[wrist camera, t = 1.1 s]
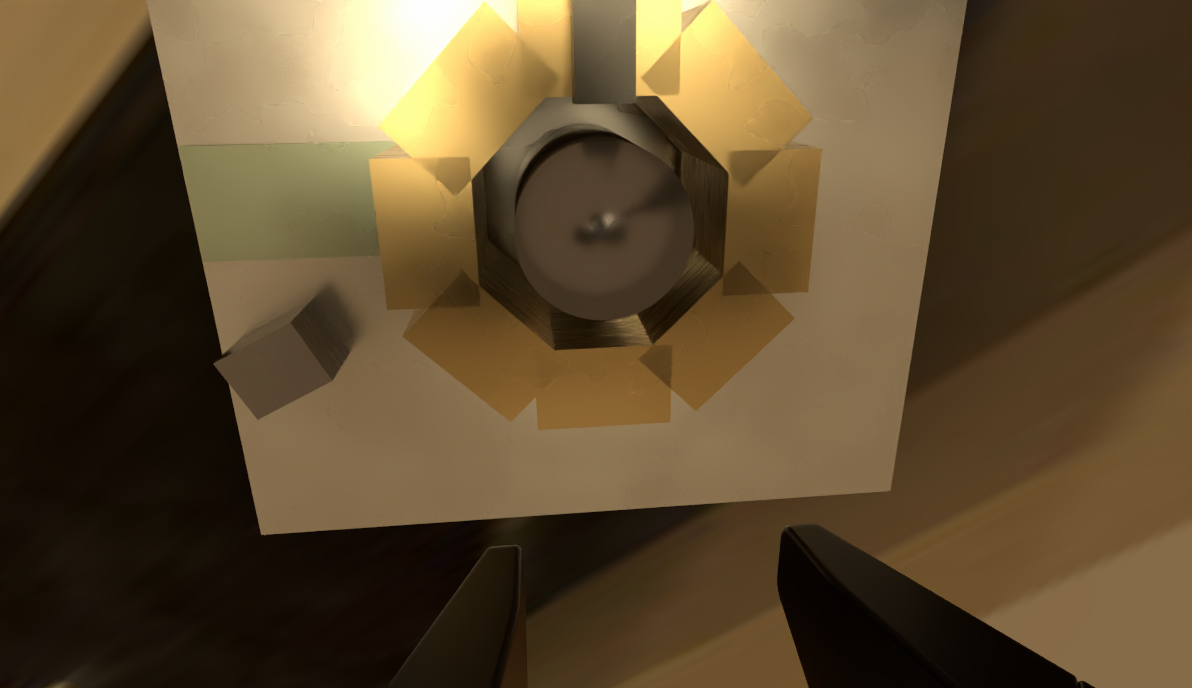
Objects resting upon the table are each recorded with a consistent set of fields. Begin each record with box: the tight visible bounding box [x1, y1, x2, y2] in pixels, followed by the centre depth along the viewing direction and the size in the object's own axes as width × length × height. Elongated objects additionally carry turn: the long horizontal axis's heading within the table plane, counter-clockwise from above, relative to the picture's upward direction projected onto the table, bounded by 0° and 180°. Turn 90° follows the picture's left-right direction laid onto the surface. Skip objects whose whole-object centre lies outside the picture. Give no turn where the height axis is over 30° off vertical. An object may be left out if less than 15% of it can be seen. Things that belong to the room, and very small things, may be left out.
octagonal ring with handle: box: [369, 0, 822, 430], centre depth 13 cm, size 8×15×5 cm, turn 1°
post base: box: [146, 0, 967, 535], centre depth 15 cm, size 18×18×6 cm
